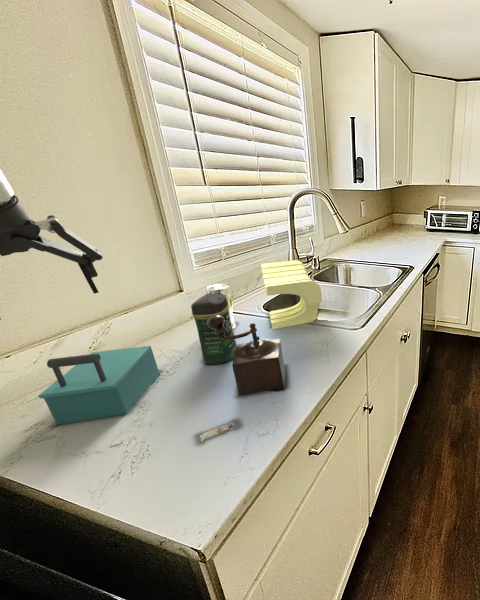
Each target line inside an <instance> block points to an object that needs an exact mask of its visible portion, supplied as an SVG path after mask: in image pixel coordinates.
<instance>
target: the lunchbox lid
mask: <svg viewBox="0 0 480 600" xmlns="http://www.w3.org/2000/svg"><path fill="white" fill-rule="evenodd" d="M150 349H152V346H151V345H144V346H136V347H135V346H134V347H127V348H126V347H125V348H117V349H108V350H102V351H101V350H100V351H92V352H91V353H89V354H82V355H73V356H64V357H56V358H55V357H54V358H49V359H48V360H47V361H46V365H47V366H46V367H48V368H49V369H52V371H53V373H54V375H55V377H56V379H57V380H56V381H55V382H53V383H52V384H50V386H48V387H47V388H46V389H45V390H43V391H41V393H39V394H38V398H39V399H44V398H47V397H55V396H62V395H69V394H77V393H84V392H91V391H98V390H106V389H113V388H115V387H116V386H117V385H118V383H119V382H120V381H121V380H122V379H123V378H124V377H125V376H126V375H127V374H128V373H129V372H130V371H131V370H132V368H133V367H134V366H135V365H136V364H137V363H138V362H139V361H140V360H141V359H142V358H143V357H144V356H145V355H146V353H147V352H148V351H149V350H150ZM70 366H73V367H72V368H70V369H69V370H68V371H67V372H65V374H63V373H62V371H61V367H70Z"/></svg>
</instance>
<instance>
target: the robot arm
mask: <svg viewBox="0 0 480 600" xmlns="http://www.w3.org/2000/svg"><path fill="white" fill-rule="evenodd" d="M41 230H44V231H47V232H48V233H51V234H56V235H57V236H58V237H59V238H61V239H63V240H64V241H66V242H67V243H69V244H71V246H73V247H75V248H77V249H78V250H76V249H73V248H71V247H68V246H66V245H64V244H61V243H58V242H56V241H53V240H51V239H48V238H46V237H45V236H43V235H41V234H40V233H41ZM31 249H34V250H36V251H39V252H43V253H44V252H46V253H49V254H51V255H54V256H57V257H60V258H63V259H65V260H69V261H71V262H74V263H77V265H78V267H79V269H80V270H81V272H82V274H83V276H84V278H85V279H86V282H87V284H88V286H89V287H90V290H91V291H92V293H93V295H95V294H98V293H99V292H100V291H99V290H98V288H97V287H96V284H95V282H94V280H93V278H96V277H98V275H99V274H98V272H97V269H96V268H95V266H94V262H97V261H101V260H103V255H102V254H101V252H100V251H99V249H98V248H97V247H95V246H94V245H92V244H90V242H87V241H86V240H85V239H84V238H81V237H80V236H78V235H77V234H76V233H74V232H72V230H69V229H68V228H67V227H66V226H64V225H63V224H62V223H61V221H60V220H59V219H58V217H57V216H56V215H52V214H51V215H50V214H49V215H48V216H47V217H46V219H43V220H39V221H34V220H32V219H31V217H30V216H29V214H28V213H27V211H26V210H25V208H24V206H23V205H22V202H21V201H20V199H19V198H18V196H17V195H15V191H14V189H13V188H12V186H11V184H10V182H9V181H8V179H7V177H6V175H5V174H4V171H3V170H2V169H1V168H0V256H1V257H5V256H10V255H13V254H16V253H17V254H18V253H25V252H29V250H31ZM79 250H80V251H79ZM1 320H2V319H1V317H0V321H1Z"/></svg>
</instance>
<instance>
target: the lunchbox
mask: <svg viewBox="0 0 480 600" xmlns="http://www.w3.org/2000/svg"><path fill="white" fill-rule="evenodd" d="M159 377H160V371H159V367H158V364H157V361H156V358H155V355H154V351H153V349H152V348H151V349H150V350H149V351H148V352H147V353H146V355H145V356H144V357H143V358H142V359H141V360H140V361H139V362H138V363H137V364H136V365H135V366H134V367H133V368H132V370H131V371H130V372H129V373H128V374H127V375H126V376H125V377H124V378H123V379H122V380H121V381H120V382H119V383H118V385H117V386H116V387H115V388H113V389H106V390H98V391H91V392H84V393H77V394H69V395H62V396H55V397H47V398H43V400H44V401H45V404H46V405H47V408H48V410H49V412H50V414H51V416H52V418H53V420H54V422H55V424H56V425H62V424H69V423H75V422H81V421H87V420H94V419H95V420H96V419H101V418H107V417H108V418H109V417H113V416H115V417H116V416H121V415H127V414H128V413H129V412H130V410H131V409H132V407H133V406H134V405H135V404H136V402H137V401H138V400H139V399H140V397H141V396H142V395H143V393H145V391H146V390H147V389H148V387H149V386H150V385H151V386H152V385H153V384H154V383H155V382H156V381H157V379H158V378H159Z"/></svg>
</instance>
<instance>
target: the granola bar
mask: <svg viewBox="0 0 480 600" xmlns="http://www.w3.org/2000/svg"><path fill="white" fill-rule="evenodd" d="M232 429H235V426H234V423H233V422H229V423H227V424H224V425H221V426H218V427H216V428H213V429H211V430H209V431H206V432H204V433H202V434H200V435H199V438H200V441H201V442H203V441H205V440H208V439H211V438H213V437H215V436H218V435H220V434H223V433H226V432H228V431H230V430H232Z"/></svg>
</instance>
